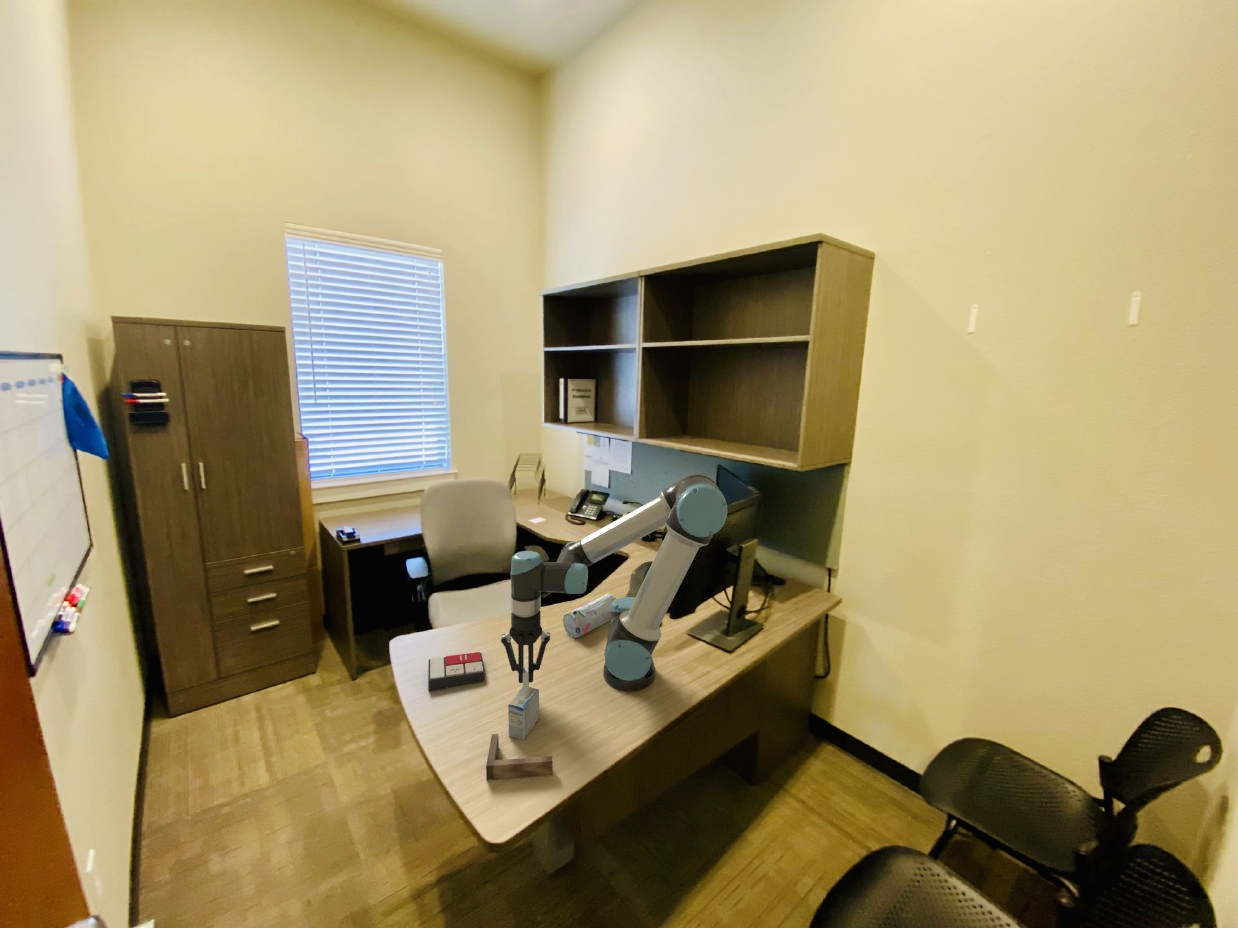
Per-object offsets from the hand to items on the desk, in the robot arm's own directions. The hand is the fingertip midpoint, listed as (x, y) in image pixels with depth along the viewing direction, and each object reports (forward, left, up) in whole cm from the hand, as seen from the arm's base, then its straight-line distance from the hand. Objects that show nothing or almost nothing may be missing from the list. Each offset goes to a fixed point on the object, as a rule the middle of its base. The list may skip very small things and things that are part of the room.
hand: (526, 692), depth 132 cm
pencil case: (-20, -37, -2) cm, 42 cm away
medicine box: (0, +11, -2) cm, 11 cm away
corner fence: (0, +22, -2) cm, 22 cm away
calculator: (+21, -12, -3) cm, 24 cm away
